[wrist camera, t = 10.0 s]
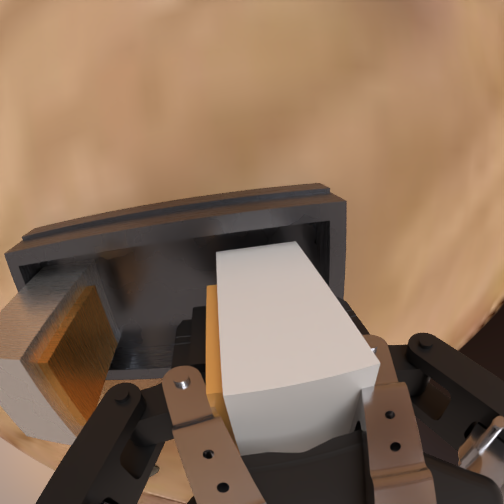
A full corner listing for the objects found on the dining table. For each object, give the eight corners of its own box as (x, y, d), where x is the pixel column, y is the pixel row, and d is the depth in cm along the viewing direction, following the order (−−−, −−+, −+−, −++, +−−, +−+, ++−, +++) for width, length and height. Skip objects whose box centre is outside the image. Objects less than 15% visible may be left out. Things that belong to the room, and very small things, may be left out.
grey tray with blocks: (80, 347, 18) (35, 454, 9) (34, 228, 14) (-68, 309, 5) (320, 320, 19) (379, 436, 10) (319, 183, 15) (435, 247, 7)
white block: (295, 241, 13) (380, 362, 6) (298, 328, 15) (350, 456, 8) (204, 253, 13) (200, 398, 6) (221, 340, 15) (233, 480, 8)
